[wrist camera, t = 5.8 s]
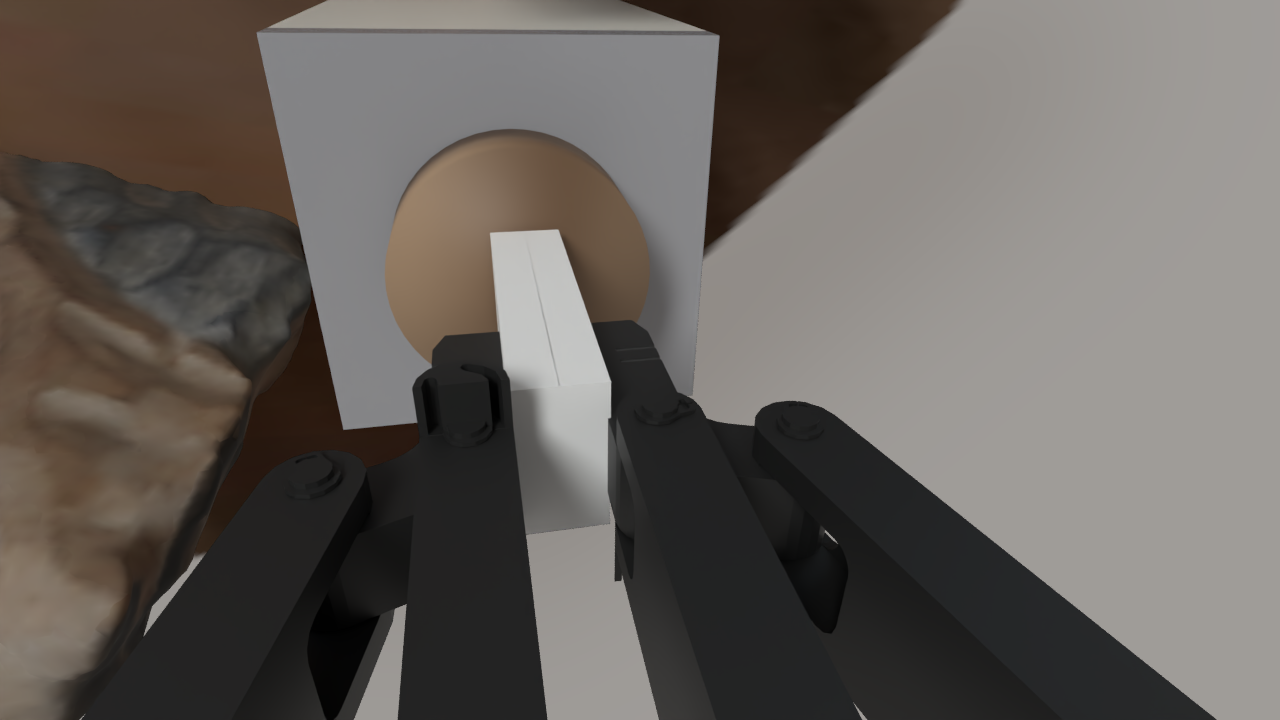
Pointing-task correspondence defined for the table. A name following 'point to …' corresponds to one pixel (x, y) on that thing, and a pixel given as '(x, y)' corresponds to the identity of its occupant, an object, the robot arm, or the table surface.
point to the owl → (120, 405)
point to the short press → (470, 104)
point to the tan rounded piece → (507, 202)
